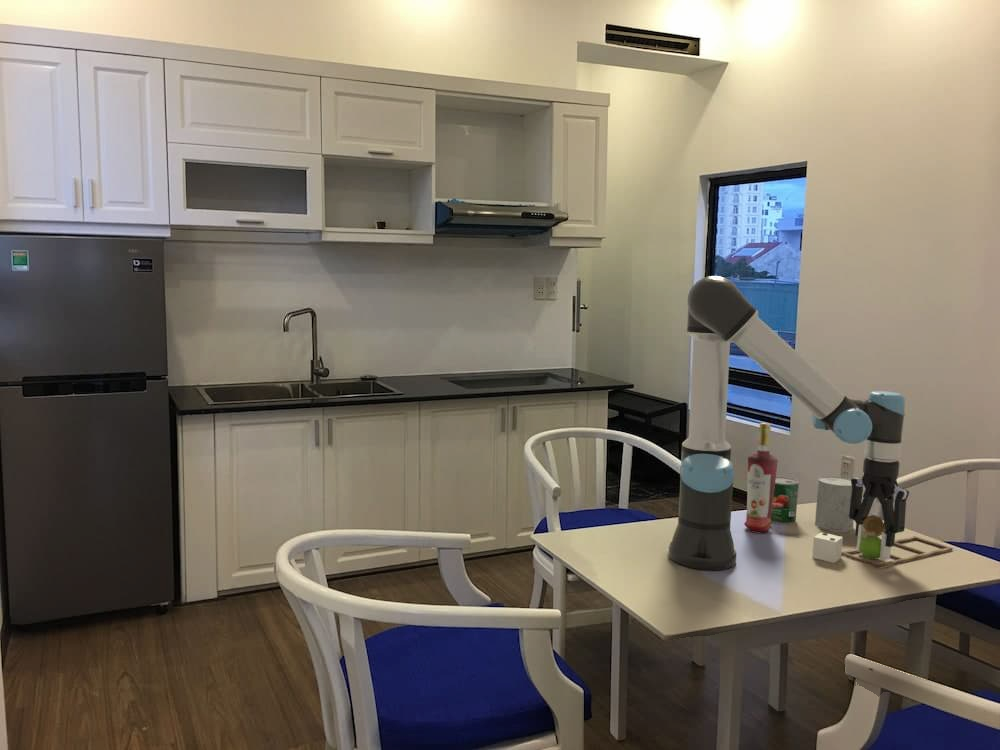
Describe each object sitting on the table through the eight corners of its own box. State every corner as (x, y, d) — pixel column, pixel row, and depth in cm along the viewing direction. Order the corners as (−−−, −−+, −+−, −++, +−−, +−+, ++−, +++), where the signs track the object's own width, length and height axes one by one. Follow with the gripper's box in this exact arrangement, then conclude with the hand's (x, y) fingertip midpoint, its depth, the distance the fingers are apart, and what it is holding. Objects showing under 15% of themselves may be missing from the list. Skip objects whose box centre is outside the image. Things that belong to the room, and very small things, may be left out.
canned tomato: (763, 521, 217) (766, 481, 216) (767, 514, 224) (769, 475, 223) (794, 526, 214) (797, 485, 212) (797, 518, 221) (800, 479, 219)
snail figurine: (892, 562, 187) (897, 512, 186) (864, 561, 187) (869, 511, 186) (882, 554, 193) (886, 505, 191) (855, 553, 193) (859, 505, 191)
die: (834, 563, 186) (836, 541, 185) (812, 557, 189) (814, 536, 189) (841, 557, 190) (843, 536, 189) (819, 552, 193) (821, 531, 192)
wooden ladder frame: (878, 568, 183) (878, 565, 183) (840, 554, 192) (841, 552, 192) (952, 550, 197) (952, 548, 197) (914, 538, 206) (914, 536, 206)
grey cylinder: (853, 524, 217) (857, 479, 216) (853, 533, 208) (857, 487, 207) (815, 518, 221) (819, 474, 219) (813, 528, 212) (817, 482, 211)
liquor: (777, 530, 209) (785, 424, 206) (764, 536, 204) (772, 427, 200) (751, 524, 214) (758, 420, 211) (737, 529, 209) (745, 423, 205)
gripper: (929, 465, 181) (919, 565, 184) (857, 449, 197) (849, 540, 200) (908, 468, 178) (899, 570, 180) (837, 451, 193) (829, 545, 196)
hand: (872, 554), depth 190 cm, fingers closed on snail figurine, 5 cm apart
